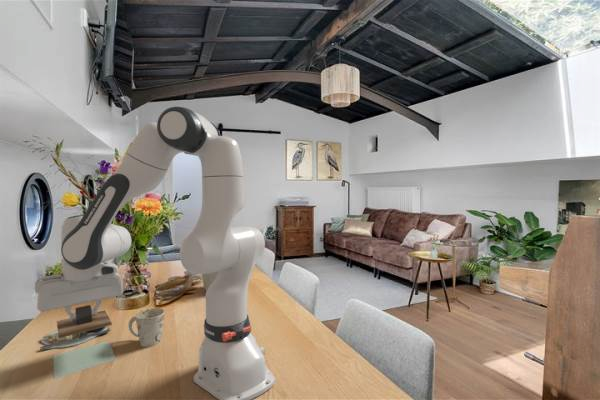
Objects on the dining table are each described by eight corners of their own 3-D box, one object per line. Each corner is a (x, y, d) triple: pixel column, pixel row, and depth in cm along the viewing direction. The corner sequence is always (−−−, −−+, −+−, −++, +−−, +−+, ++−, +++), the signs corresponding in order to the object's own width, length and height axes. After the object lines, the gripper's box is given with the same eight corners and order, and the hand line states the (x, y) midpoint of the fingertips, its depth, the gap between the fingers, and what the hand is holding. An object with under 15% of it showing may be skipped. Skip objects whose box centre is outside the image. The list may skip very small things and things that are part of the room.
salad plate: (55, 360, 90) (55, 345, 90) (23, 347, 97) (22, 333, 97) (118, 332, 108) (118, 319, 107) (86, 323, 115) (86, 311, 115)
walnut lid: (111, 324, 88) (110, 308, 88) (58, 338, 81) (57, 320, 80) (105, 312, 97) (104, 297, 97) (56, 323, 90) (56, 307, 90)
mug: (153, 351, 94) (153, 319, 93) (118, 347, 96) (117, 316, 96) (170, 338, 102) (169, 309, 102) (137, 335, 104) (136, 306, 104)
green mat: (116, 361, 89) (116, 359, 89) (54, 380, 80) (54, 378, 80) (108, 342, 99) (108, 340, 99) (53, 358, 91) (53, 356, 91)
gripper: (34, 280, 79) (36, 332, 80) (123, 266, 93) (125, 311, 93) (34, 275, 84) (36, 325, 85) (119, 262, 97) (121, 306, 98)
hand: (83, 317), depth 89 cm, fingers closed on walnut lid, 3 cm apart
